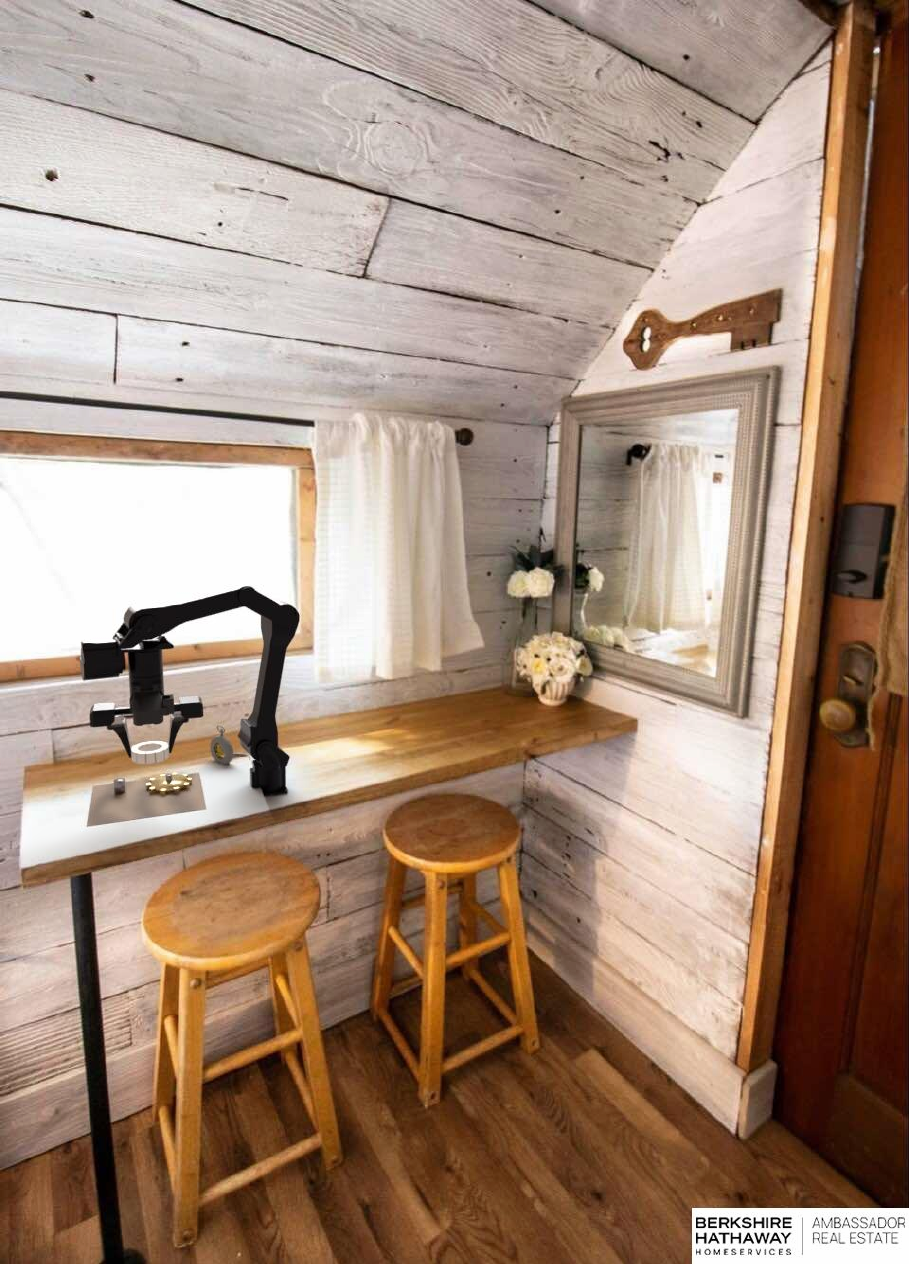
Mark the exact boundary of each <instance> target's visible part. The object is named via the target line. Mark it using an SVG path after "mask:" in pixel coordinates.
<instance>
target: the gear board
mask: <svg viewBox="0 0 909 1264" xmlns="http://www.w3.org/2000/svg"><path fill="white" fill-rule="evenodd" d="M186 774H187V775H188V778H192V784H190V788H188V789H182V790H180V793H176V794H175V793H174V792H173V793H166V795H161V793H154V794H151V793H150V792H149V790H146V783H149V779H150V778H147V779H136V780H129V781H125V789H126V792H125V793H124V794H119V795H117V794H115V793H114V782H113V783H104V784H97V785H92V789H91V790H92V791H91V797H90V803H89V808H88V809H89V810H88V815H87V822H86V827H93V826H102V825H107V824H114V823H120V822H121V823H122V822H127V821H136V820H140V819H141V820H142V819H149V818H155V817H162V816H170V815H175V814H181V813H190V812H196V811H201V810H202V811H203V810H207V807H206V799H205V796H204V795H205V794H204V792H203V791H204V790H203V785H202V781H201V780H202V779H201V776H200V775H201V774H200V772H194V773H186Z"/></svg>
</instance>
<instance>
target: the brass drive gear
mask: <svg viewBox="0 0 909 1264" xmlns="http://www.w3.org/2000/svg"><path fill="white" fill-rule="evenodd" d="M187 774H188V773H184V774H179V773H178V772H172V774H171V773H167V774H165V773H163V774H162V773H161V774H159V775H158V777H151V778H148V779H149V783H146V790H149V792H150V793H151V794H154V793H161V795H166V793H173V792H174V793H175V794H176V793H180V790H182V789H188V788H190V784H192V778H188V775H187Z"/></svg>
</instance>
